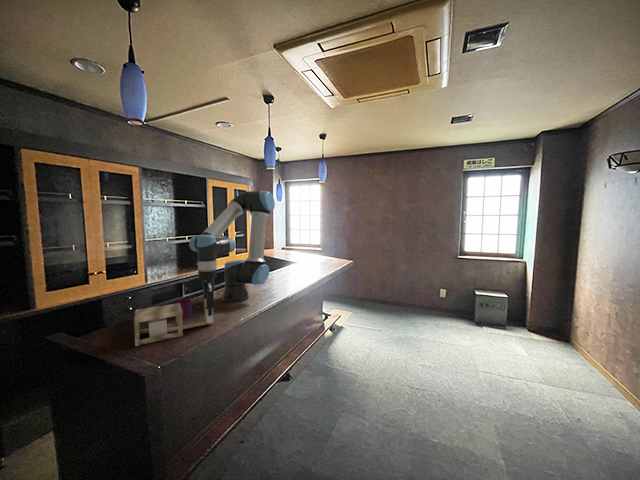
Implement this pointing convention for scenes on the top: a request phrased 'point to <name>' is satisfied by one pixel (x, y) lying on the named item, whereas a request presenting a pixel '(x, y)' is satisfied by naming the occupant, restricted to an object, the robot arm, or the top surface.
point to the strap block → (160, 327)
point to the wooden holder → (155, 314)
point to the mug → (186, 307)
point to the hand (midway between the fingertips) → (209, 320)
